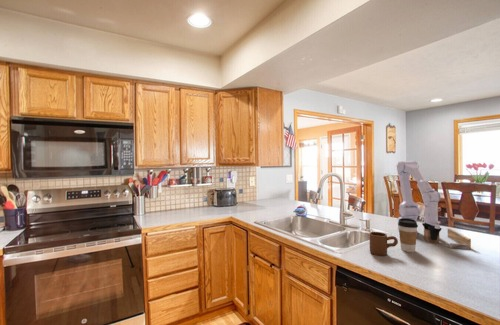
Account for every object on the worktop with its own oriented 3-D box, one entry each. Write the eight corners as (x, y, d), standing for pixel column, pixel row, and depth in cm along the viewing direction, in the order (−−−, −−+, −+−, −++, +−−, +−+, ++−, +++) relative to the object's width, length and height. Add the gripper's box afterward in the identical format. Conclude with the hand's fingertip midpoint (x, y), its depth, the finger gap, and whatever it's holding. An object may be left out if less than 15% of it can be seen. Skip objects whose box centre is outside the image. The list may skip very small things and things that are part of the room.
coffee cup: (416, 248, 122) (415, 218, 122) (420, 254, 114) (419, 223, 114) (397, 246, 126) (396, 217, 125) (399, 251, 118) (399, 221, 118)
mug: (397, 253, 116) (397, 234, 116) (398, 259, 109) (398, 238, 109) (369, 249, 122) (369, 230, 122) (369, 254, 115) (369, 235, 115)
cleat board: (449, 247, 122) (449, 238, 122) (431, 236, 140) (431, 227, 140) (470, 249, 119) (470, 239, 119) (450, 237, 138) (450, 228, 138)
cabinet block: (427, 242, 130) (427, 230, 130) (424, 239, 135) (423, 227, 135) (439, 243, 129) (439, 230, 129) (435, 240, 133) (435, 228, 133)
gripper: (446, 217, 124) (447, 243, 124) (433, 211, 138) (433, 234, 138) (430, 216, 126) (431, 242, 126) (419, 210, 140) (419, 233, 140)
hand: (431, 238), depth 132 cm, fingers open, 5 cm apart
